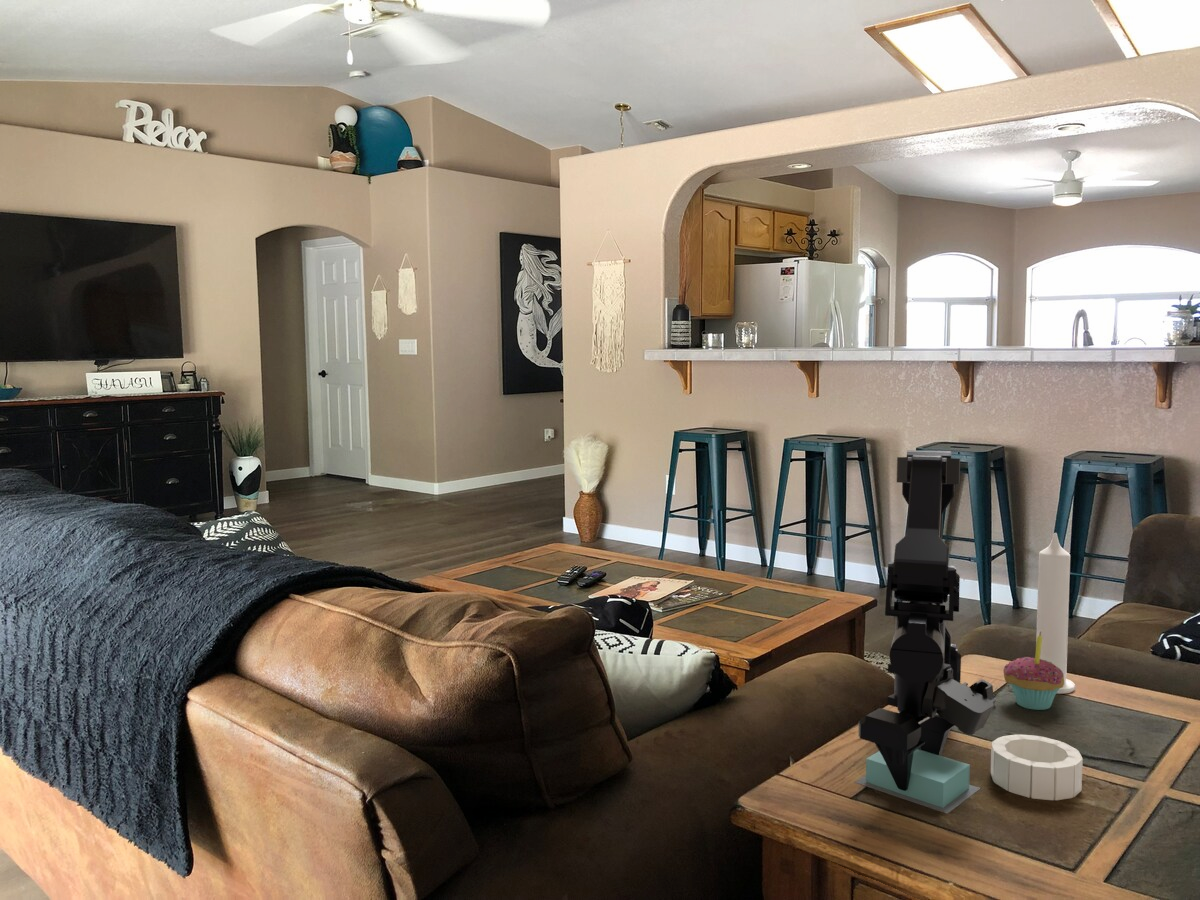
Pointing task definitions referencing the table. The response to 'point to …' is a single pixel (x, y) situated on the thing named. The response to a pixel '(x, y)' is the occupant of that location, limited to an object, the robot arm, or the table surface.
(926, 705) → the robot arm
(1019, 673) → the cupcake
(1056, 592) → the candle
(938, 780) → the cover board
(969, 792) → the mat
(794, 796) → the table surface
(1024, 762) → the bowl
